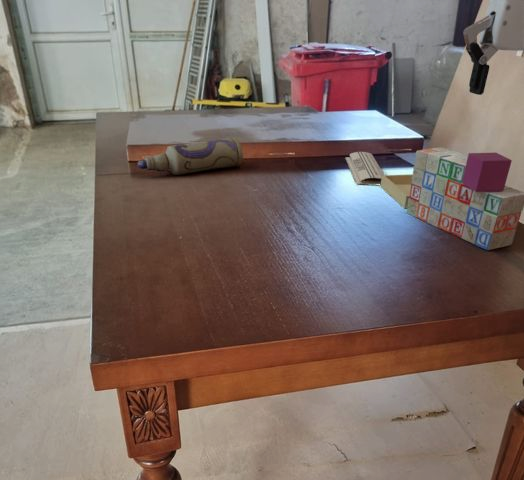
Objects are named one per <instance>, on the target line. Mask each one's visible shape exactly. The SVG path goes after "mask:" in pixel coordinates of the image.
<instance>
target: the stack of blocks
mask: <svg viewBox="0 0 524 480" xmlns="http://www.w3.org/2000/svg"><path fill="white" fill-rule="evenodd" d="M414 158H415V159H414V166H413V171H412V174H413V176H412V184H411V190H410V197H409V201H408V207H407V208H406V214H408V215H410V216H412V217H415V218H416V219H418V220H420V221H423V222H425V223H427V224H428V225H429V224H430V225H431V226H433V227H436V228H437V229H440V230H443V231H444V232H447V233H448V234H449V233H450V234H451V235H454V236H456V237H458V238H461V239H462V240H464V241H467V242H469V243H471V244H472V245H475V246H477V247H478V248H481V249H483V250H485V251H492V250H495V249H499V248H504V247H509V246H512V244H513V241H514V239H515V236H516V231H517V228H518V226H519V222H520V219H521V217H522V216H521V215H522V212H523V210H524V191H522V190H519V189H516V188H513V187H511V186H508V185H505V187H504V191H485V192H475V191H474V190H472V189H471V188H469V187H468V186H466V185H464V184H463V183H462V181H463V176H464V172H465V167H466V163H467V159H468V154H466V153H461V152H458V151H454V150H452V149H448V148H445V147H441V146H440V147H433V148H426V149H425V148H424V149H419V150H416V153H415V157H414Z"/></svg>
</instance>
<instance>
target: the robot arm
mask: <svg viewBox="0 0 524 480" xmlns="http://www.w3.org/2000/svg"><path fill="white" fill-rule="evenodd" d="M462 33H463V34H462V35H463V38H464V44H465V50H466V53H467V54H468V55H469V57H470V61H471V63H473V64H472V68H471V74H470V78H469V84H468V85H469V90H468V91H469V93H470V94H471V93H472V94H475V95H477V96H478V95H479V96H482V95H483V94H484V92H485V88H486V84H487V80H488V75H489V72H490V64H488V62H489V61H490V60H491V59H492V58H493V57H494V56H495V55H496V54H497V52H498V51H513V52H514V51H516V52H517V51H519V52H523V51H524V0H489V2H488V6H487V8H486V13H485V15H484V17H483V18H481V19H479V20H477V21H476V22H474V23H471V25H469V26H467V27H465V28H464V29H463V31H462ZM479 34H480V35H479ZM478 35H479V43H478Z"/></svg>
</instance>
